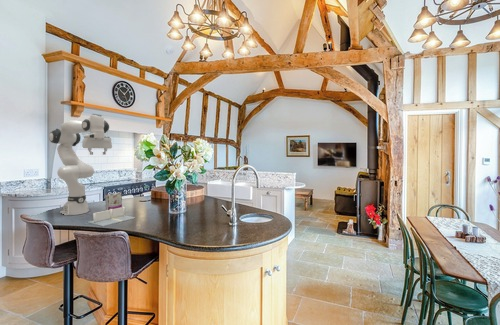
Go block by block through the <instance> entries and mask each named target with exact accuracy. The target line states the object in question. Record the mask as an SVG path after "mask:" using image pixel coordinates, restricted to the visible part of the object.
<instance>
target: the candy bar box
mask: <svg viewBox="0 0 500 325" xmlns="http://www.w3.org/2000/svg"><path fill="white" fill-rule="evenodd" d="M104 198H105V211H107V210H110V209H117V208H122V207H123V203H122V202H123V200H122V199H123V198H122V192H115V193H106V194H105V195H104Z"/></svg>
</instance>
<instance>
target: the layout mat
mask: <svg viewBox="0 0 500 325" xmlns="http://www.w3.org/2000/svg"><path fill="white" fill-rule="evenodd" d="M134 218H135V219H136V217H134V216H130V215H129V216H128V215H125V216H118V217H113V218H112V219H110V218H109V219H105V220H100V221H96V222H93V220H89V221H87V223H88V224H91V225H95V226H99V227H100V226H101V227H106V226H111V225H115V224H118V223H123V222H127V221H130V219H131V220H134ZM126 220H127V221H126Z"/></svg>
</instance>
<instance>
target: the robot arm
mask: <svg viewBox="0 0 500 325" xmlns="http://www.w3.org/2000/svg"><path fill="white" fill-rule="evenodd" d="M109 130H110V124H109V122H108V121H107V120H105V119H104V116H103V115H102V114H96V113H92V114H90V115H89V117H88V118H84V120H83V121H80V120H76V119H70V120H67V121H64V122H62V124H61V128H60V129H59V128H56V129H54V130H52V131H50V132H49V134H48V139H49V142H50V143H52V144H55V145H56V144H59V145H58V146H57V147H56V149H57V154H58V156H59V158H60V161H61V163H62V164H63V165H64V166H61V167H58V169H57V177H58V178H59V179H61V180H62V181H64V182H65V184H66V186H67V188H68V189H67V190H68V196H67V200H66V202H65V203H64V204H63V206H62V210H61V211H59V213H60V214H61V213H62V214H61V215H63V214H64V215H63V216H74V215H75V216H77V215H83V214H86V213H88V212H89V211H90V209H89V203H88V201H87V195H86V187H85V185H84V184H83V183H81V182H79V180H78V179H87V178H90V177H93V176H94V173H95V169H94V167H93V166H92V165H89V164H88V163H85V162H84V161H82V160H81V159H80V158H79V157H78V156H77V154H76V152H75V150H74V149H73V147H75V146H77V145H78V144H79V143H80V142H81V140H82V144H81V146H82V148H83V149H87V151H88V152H89V155H91V156H92V155H94V151H92V149H103V150H104V151H102V156H103V155H105V156H106V154H107V151H108V149H109V150H110V149H112V148H113V144H112V137H110V136H106V135H105V134H106V133H107V132H108V131H109ZM88 132H89V133H88ZM82 133H87V134H84V135H83V136H82V137H83V139H81V134H82Z"/></svg>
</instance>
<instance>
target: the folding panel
mask: <svg viewBox="0 0 500 325" xmlns="http://www.w3.org/2000/svg"><path fill="white" fill-rule="evenodd" d="M92 218H93V219H92V221H93V222H96V221H100V220H105V219H109V218H110V210H107V211H106V210H103V211H97V212H93V213H92Z"/></svg>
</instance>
